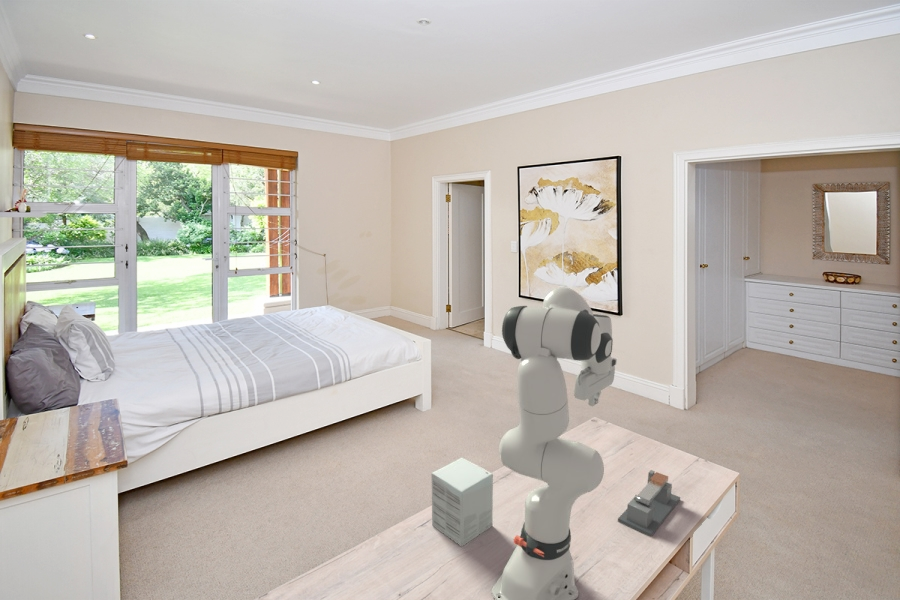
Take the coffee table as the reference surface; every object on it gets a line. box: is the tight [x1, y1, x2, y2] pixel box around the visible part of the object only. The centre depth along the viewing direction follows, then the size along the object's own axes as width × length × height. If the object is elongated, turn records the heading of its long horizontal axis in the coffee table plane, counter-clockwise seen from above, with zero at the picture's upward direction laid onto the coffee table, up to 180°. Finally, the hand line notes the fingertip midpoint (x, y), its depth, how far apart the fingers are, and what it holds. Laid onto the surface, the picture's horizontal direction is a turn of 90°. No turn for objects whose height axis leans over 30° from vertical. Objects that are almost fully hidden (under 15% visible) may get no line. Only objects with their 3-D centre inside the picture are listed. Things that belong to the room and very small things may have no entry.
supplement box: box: [431, 457, 494, 547], centre depth 140 cm, size 13×13×18 cm
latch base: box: [617, 469, 681, 537], centre depth 147 cm, size 24×10×9 cm, turn 136°
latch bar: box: [633, 471, 669, 506], centre depth 147 cm, size 17×4×2 cm, turn 135°
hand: (593, 404), depth 152 cm, fingers closed
